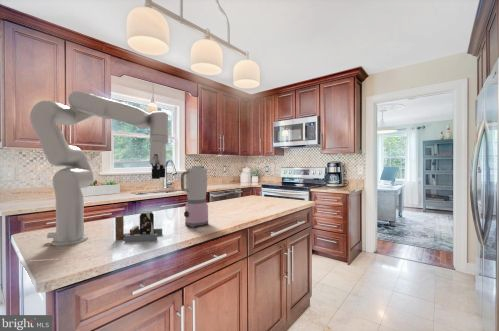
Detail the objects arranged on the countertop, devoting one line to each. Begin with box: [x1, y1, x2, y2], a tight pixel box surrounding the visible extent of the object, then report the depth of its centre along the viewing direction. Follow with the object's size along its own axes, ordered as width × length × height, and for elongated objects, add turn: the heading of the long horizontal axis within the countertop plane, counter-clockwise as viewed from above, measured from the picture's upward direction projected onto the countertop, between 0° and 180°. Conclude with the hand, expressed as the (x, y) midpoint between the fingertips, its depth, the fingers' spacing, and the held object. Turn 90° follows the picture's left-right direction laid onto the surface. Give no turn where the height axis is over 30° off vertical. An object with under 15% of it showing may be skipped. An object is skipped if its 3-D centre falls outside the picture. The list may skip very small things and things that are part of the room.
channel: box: [124, 228, 163, 243], centre depth 105 cm, size 13×10×3 cm
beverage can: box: [139, 210, 155, 235], centre depth 105 cm, size 6×6×12 cm
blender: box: [180, 165, 209, 229], centre depth 127 cm, size 16×12×32 cm
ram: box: [114, 215, 140, 241], centre depth 104 cm, size 8×7×10 cm
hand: (158, 178), depth 106 cm, fingers open, 9 cm apart
